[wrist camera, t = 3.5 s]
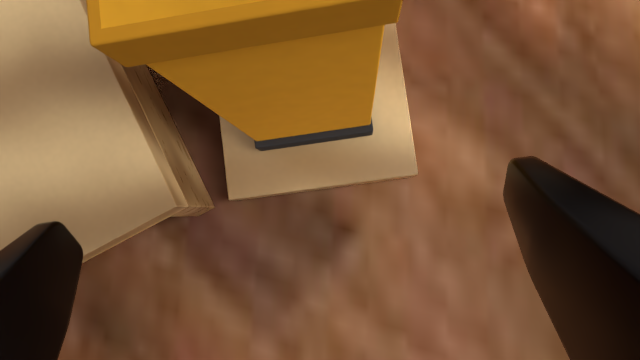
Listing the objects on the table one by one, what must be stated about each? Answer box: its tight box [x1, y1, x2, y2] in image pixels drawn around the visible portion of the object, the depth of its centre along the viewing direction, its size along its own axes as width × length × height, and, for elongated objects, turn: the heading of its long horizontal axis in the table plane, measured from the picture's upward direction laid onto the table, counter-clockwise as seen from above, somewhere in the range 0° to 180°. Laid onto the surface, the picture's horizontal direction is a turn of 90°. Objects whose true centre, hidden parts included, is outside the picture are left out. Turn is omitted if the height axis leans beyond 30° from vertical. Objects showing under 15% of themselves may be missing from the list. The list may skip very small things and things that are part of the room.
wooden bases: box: [0, 0, 418, 263], centre depth 19 cm, size 17×23×4 cm
